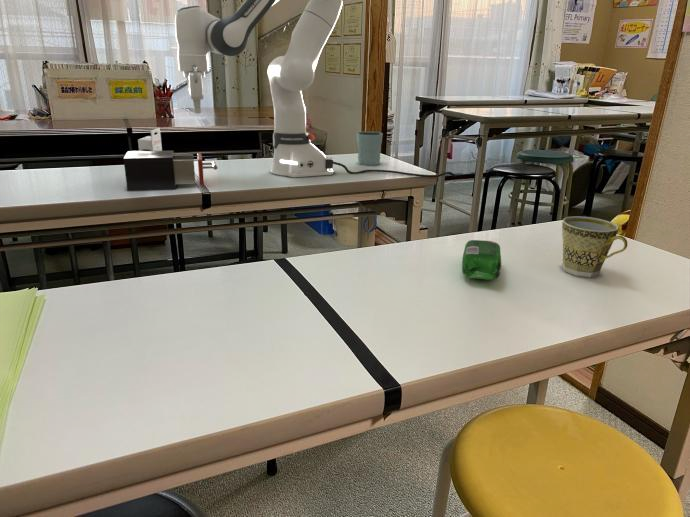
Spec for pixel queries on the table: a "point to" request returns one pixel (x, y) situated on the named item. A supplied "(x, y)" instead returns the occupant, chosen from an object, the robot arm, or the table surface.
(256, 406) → the table surface
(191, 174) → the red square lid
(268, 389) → the table surface
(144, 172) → the black drawer casing
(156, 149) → the ink box
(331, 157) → the robot arm
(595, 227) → the ceramic cup
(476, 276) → the snack package
